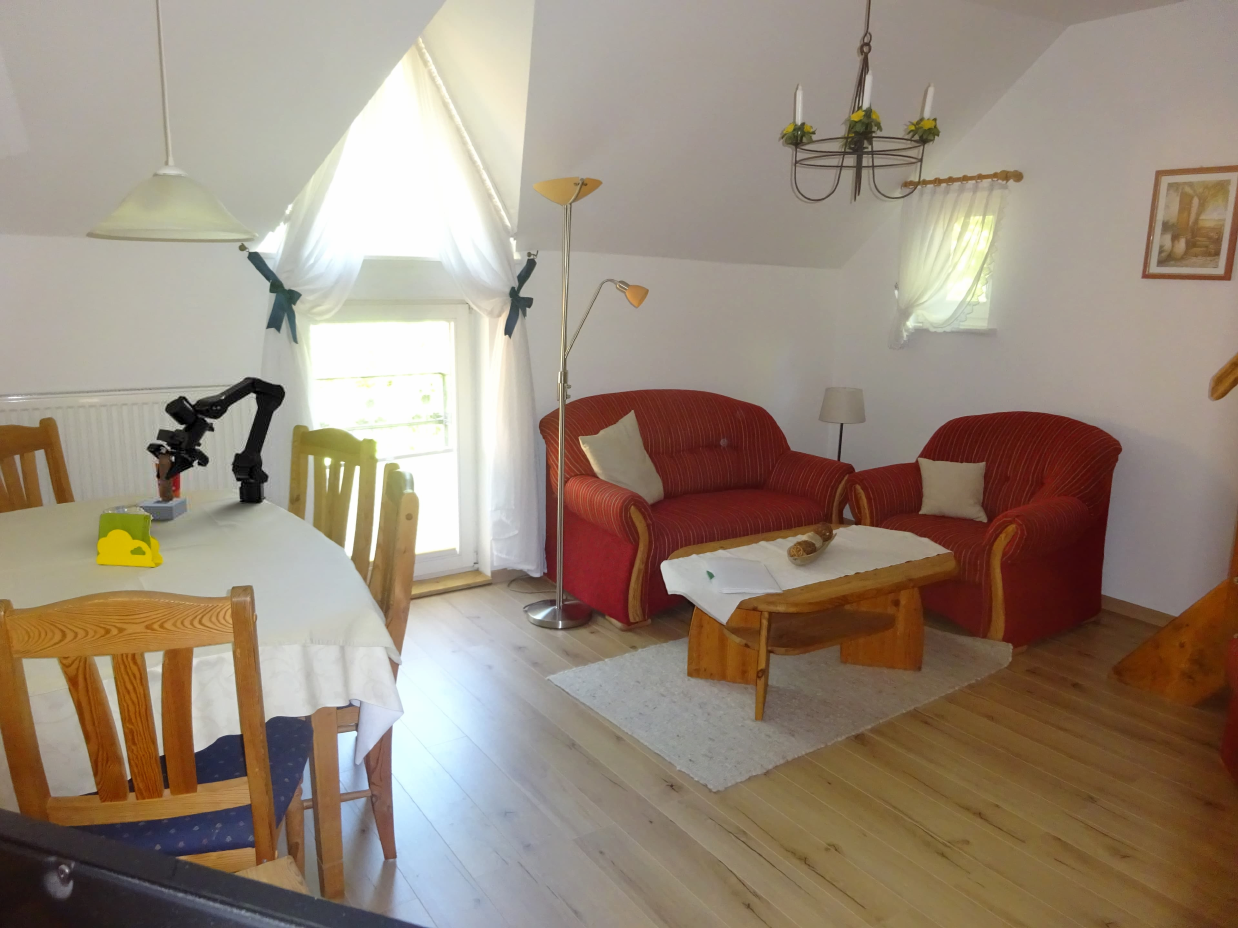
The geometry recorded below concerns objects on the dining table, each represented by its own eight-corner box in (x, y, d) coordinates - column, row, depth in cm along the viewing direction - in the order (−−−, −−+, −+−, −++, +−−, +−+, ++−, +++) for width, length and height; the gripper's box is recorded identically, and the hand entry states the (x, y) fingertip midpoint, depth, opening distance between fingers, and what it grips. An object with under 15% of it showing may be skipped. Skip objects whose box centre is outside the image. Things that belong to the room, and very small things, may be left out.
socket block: (187, 510, 257) (186, 498, 256) (173, 519, 247) (172, 506, 246) (152, 510, 256) (151, 497, 255) (137, 519, 246) (136, 505, 245)
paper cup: (150, 501, 266) (147, 458, 263) (170, 496, 273) (167, 454, 271) (170, 504, 264) (167, 460, 261) (189, 499, 271) (187, 456, 268)
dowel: (175, 499, 243) (172, 455, 241) (170, 501, 241) (167, 457, 238) (164, 498, 243) (161, 454, 241) (159, 501, 240) (156, 456, 238)
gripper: (149, 415, 244) (118, 459, 236) (198, 421, 238) (167, 466, 230) (174, 438, 253) (144, 481, 245) (222, 444, 246) (193, 488, 239)
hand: (161, 478), depth 239 cm, fingers closed on dowel, 3 cm apart
